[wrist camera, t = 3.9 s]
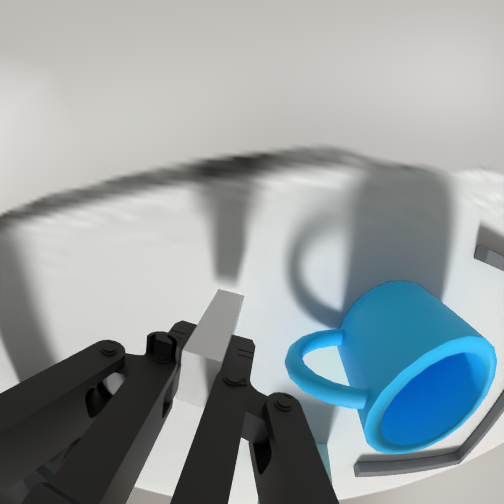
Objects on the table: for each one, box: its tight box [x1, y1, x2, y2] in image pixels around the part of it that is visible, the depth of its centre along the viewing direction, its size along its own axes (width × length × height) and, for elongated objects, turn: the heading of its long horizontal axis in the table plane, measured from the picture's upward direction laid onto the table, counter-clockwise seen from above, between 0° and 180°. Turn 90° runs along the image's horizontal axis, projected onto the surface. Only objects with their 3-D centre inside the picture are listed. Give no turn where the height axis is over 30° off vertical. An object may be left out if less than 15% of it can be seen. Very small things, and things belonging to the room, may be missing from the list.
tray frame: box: [354, 246, 504, 477], centre depth 18 cm, size 17×25×2 cm
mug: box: [285, 281, 497, 454], centre depth 14 cm, size 12×8×8 cm
